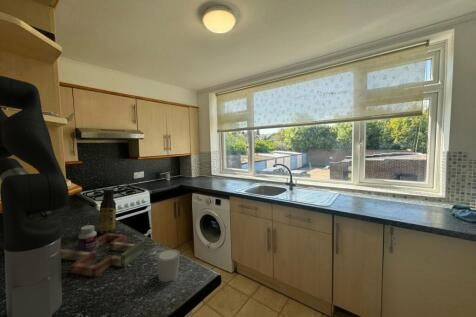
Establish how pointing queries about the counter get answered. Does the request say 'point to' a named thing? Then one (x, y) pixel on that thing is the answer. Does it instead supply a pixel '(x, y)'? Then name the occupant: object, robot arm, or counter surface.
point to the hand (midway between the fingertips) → (48, 216)
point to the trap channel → (94, 270)
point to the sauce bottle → (107, 212)
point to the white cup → (168, 264)
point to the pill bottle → (87, 239)
